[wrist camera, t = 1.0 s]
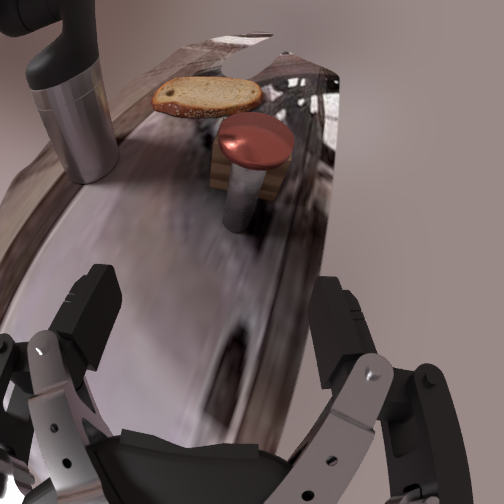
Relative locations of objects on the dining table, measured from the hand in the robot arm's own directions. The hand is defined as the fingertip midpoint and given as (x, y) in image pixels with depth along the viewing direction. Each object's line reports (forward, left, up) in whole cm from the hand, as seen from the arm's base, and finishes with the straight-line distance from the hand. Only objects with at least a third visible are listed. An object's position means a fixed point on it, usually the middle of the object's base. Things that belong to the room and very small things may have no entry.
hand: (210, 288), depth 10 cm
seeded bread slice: (-41, +12, -20) cm, 47 cm away
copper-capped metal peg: (-16, +10, -19) cm, 27 cm away
